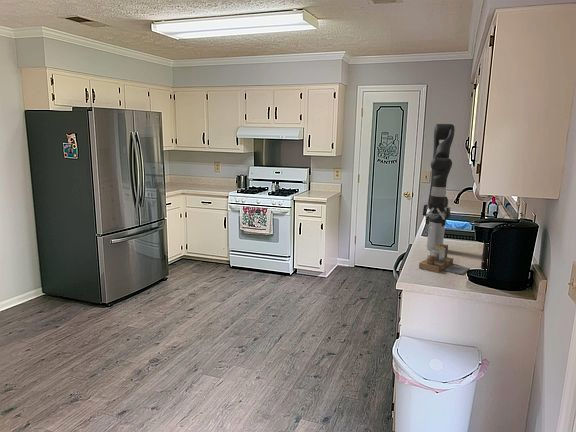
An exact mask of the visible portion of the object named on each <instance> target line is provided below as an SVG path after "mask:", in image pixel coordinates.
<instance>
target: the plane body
mask: <svg viewBox="0 0 576 432" xmlns="http://www.w3.org/2000/svg"><path fill="white" fill-rule="evenodd" d="M440 246H444V248H445V258H444V260H442V261H440V262H436V261H435V256H431V255H430V254H429V255H427V258H426V259H424V260H422V261H421V262H419V263H418V268H419V269H421V270H425V271H429V272H433V273H439V272H442V271H443V270H445V269H446V268H448V267H450V266H451V265H454V258H453V257H450V256H448V250H449V244H444V243H443V244H441V245H440Z"/></svg>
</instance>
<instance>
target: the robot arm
mask: <svg viewBox="0 0 576 432" xmlns="http://www.w3.org/2000/svg"><path fill="white" fill-rule="evenodd" d="M455 131H456V129H455V125H454V124H452V123H436V124H435V126H434V129H433V153H432V159H431V161H430V169H431V174H430V175H431V176H430V178H431V179H430V187H429V194H428V199H427V204H424V205H423V210H422V216H424V217H425V224H426V225H428V230H427V231H428V232H427V241H426V250H428V251H430V249H432V248H434V247H435V246H436V245H438V246H440V245H441V244H444V238H445V227H446V224H447V220H449V219H450V218H451V207H449V206H448V204H449V198H448V196H447V182H448V181H447V180H448V177H449V174H450V171H451V169H452V166H453V161H452V159H451V158H450V152H451V147H452V145H453V141H454V137H455V133H456V132H455ZM440 141H441V142H440ZM428 210H429V211H428ZM432 214H433V215H432Z"/></svg>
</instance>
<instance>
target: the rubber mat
mask: <svg viewBox="0 0 576 432" xmlns="http://www.w3.org/2000/svg"><path fill="white" fill-rule="evenodd" d="M443 270H444V272H446V273H452V274H455V275H461V276H463V275H464V274H466V273H468V272H469V271H470V270H471V268H470V267H465V266H460V265H456V264H452V265H450V266H448V267H446V268H445V269H443ZM468 270H469V271H468ZM467 271H468V272H467Z"/></svg>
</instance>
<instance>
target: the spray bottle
mask: <svg viewBox="0 0 576 432" xmlns="http://www.w3.org/2000/svg"><path fill="white" fill-rule="evenodd" d="M482 247H483V248H482V256H481V262H480V263H481V264H480V268H481V270H482V269H484V270H486V269H487V259H488V247H489V244H488V243H484V242H483V245H482ZM484 270H483V271H484Z"/></svg>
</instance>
